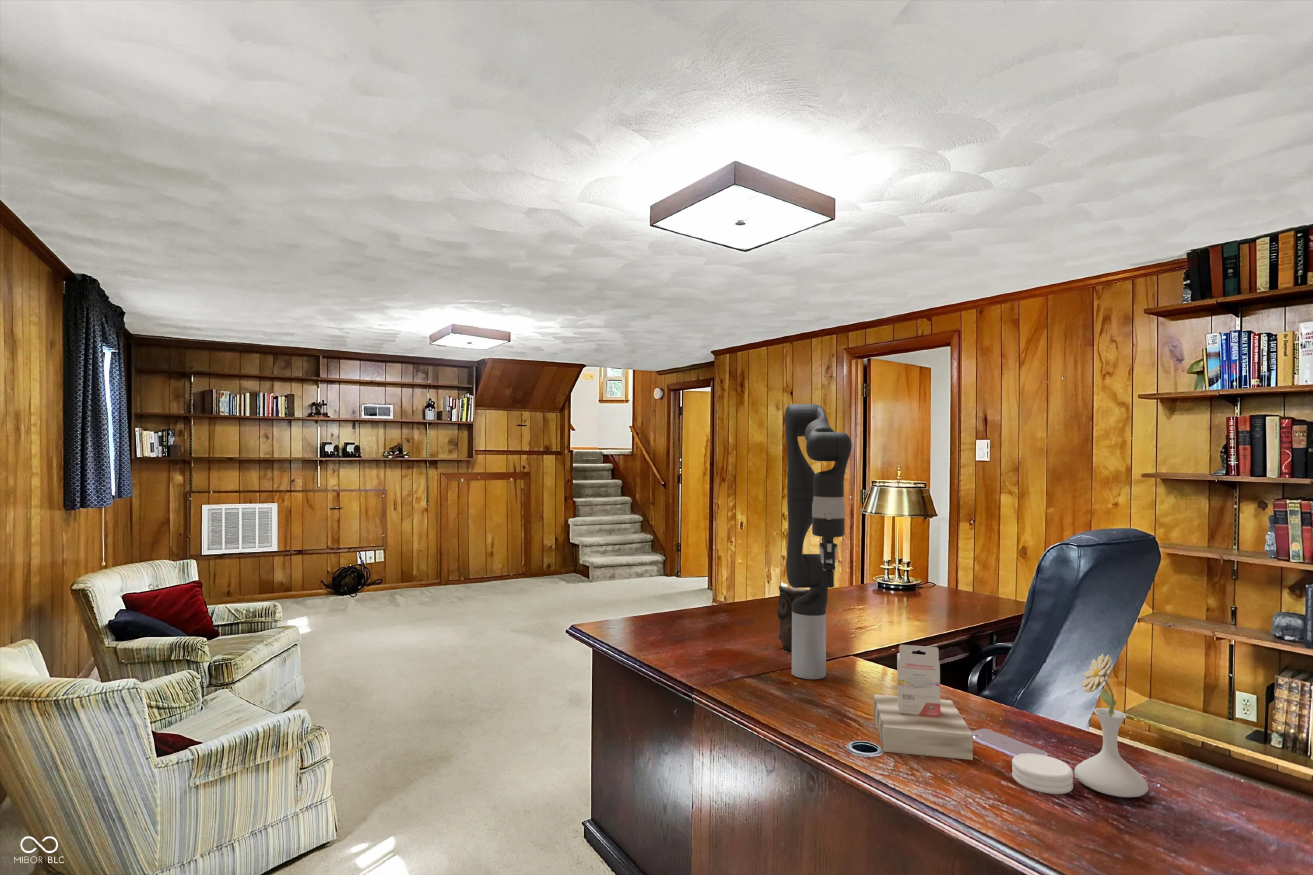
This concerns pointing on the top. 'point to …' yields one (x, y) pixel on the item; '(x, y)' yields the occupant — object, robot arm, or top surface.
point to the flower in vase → (1108, 744)
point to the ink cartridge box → (918, 681)
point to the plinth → (922, 730)
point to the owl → (787, 614)
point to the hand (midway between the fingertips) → (827, 584)
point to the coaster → (1042, 773)
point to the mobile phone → (1004, 743)
